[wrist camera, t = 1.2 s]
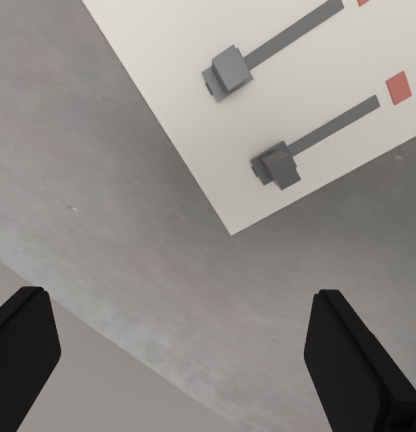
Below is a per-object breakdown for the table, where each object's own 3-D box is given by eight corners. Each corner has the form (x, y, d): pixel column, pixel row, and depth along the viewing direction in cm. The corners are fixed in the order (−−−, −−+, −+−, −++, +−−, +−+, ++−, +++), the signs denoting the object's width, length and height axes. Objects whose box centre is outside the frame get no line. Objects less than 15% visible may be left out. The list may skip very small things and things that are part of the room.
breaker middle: (237, 49, 24) (243, 33, 19) (252, 79, 25) (261, 71, 20) (201, 73, 25) (199, 63, 20) (217, 102, 25) (219, 99, 21)
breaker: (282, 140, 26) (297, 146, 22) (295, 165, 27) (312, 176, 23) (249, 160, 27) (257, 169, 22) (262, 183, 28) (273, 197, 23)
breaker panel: (321, -221, 21) (340, -278, 18) (427, 116, 29) (453, 116, 26) (78, -16, 25) (60, -34, 22) (229, 225, 33) (231, 236, 30)
